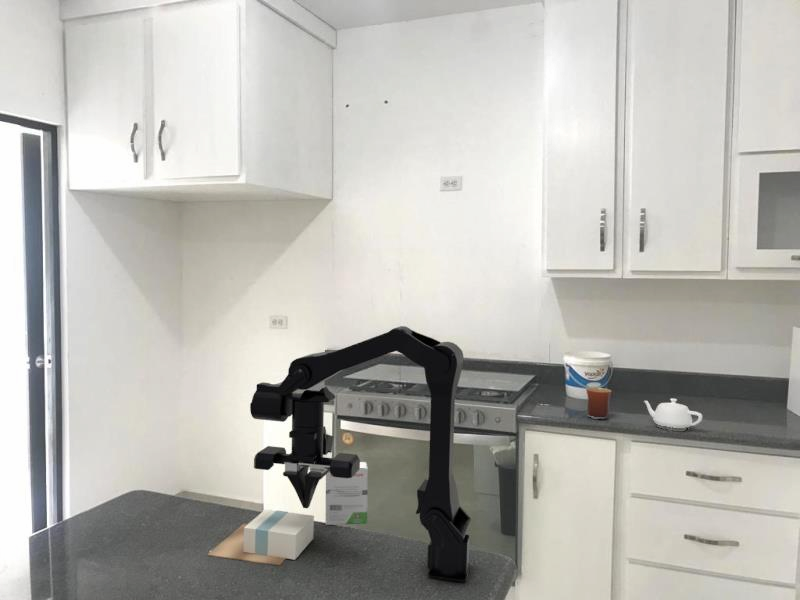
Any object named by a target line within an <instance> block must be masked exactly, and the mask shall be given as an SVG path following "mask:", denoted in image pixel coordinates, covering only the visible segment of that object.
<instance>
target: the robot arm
mask: <svg viewBox="0 0 800 600" xmlns="http://www.w3.org/2000/svg"><path fill="white" fill-rule="evenodd" d="M394 352H397V353H400V354H402V355H403V356H405V357H406V358H407V359H409V360H410V361H412V362H413V363H415V364H416V365H419V366H420V367H422V368H423V370H424V375H425V382H426V385H427V386H426V387H427V389H428V391H429V397H430V414H429V415H430V417H429V418H430V419H429V420H430V423H429V455H428V462H429V463H428V479H424V480H423V481H422V483H421V484H420V485H419V487H418V488H417V490H416V497H417V509H416V511H415V514H416V515H419V521H420V524H421V525H422V526H423V527H424V529H425V530H426V531H427V533H428V535H429V538H430V541H429V543H428V545H427V558H426V559H427V561H426V562H427V563H426V564H427V565H426V568H427V570H428V573H427V577H428V578H431V579H437V580H438V579H439V580H443V581H444V580H445V581H451V582H452V581H453V582H459V583H466V582H467V579H468V575H469V571H470V567H471V562H469V561H470V559H469V557H470V535H469V534H467V531H468V529H469V526H470V524H471V522H472V518H471V517H470V516H469V514H468V513H467V512H466V511H465V509H464V508H462V506H461V505H460V502H459V500H460V499H459V493H458V487H457V483H456V481H455V480H456V479H455V477H454V472H453V469H454V441H455V439H454V437H455V436H454V435H455V432H454V431H455V402H456V401H455V398H456V392H457V389H458V386H459V385H458V384H459V381H460V378H461V373H462V369H463V363H464V357H465V356H464V353H463V350H462V349H461V348H460V346H458V344H457V343H454V342H451V341H440V340H437V339H435V338H433V337H430V336H427V335H424V334H422V333H419V332H416V331H414V330H412V329H411V328H410V327H408V326H404V325H402V326H397V327H394V328H392V329H390V330H389V331H388V332H385V333H382V334H379V335H376V336H374V337H370V338H368V339H365V340H362V341H360V342H358V343H355V344H352V345H349V346H347V347H346V346H345V347H343V348H340V349H337V350H336V349H335V350H329V351H322V352H316V353H311V354H308V355H304V356H302V357H298V358H296V359H295V358H294V360H292V361H291V362H290V363H289V364H290V365H289V367H288V372H287V375H286V377H284V379H283V381H282V382H281V383H280V384H276V383H275V384H274V383H273V384H272V383H270V382H259V383H257V384H256V390H255V391H254V394H253V395H252V398H251V403H250V404H249V408H250V409H249V411H250V415H251V417H252V418H253V419H254V420H263V421H270V422H272V421H273V422H280V423H281V422H283V423H284V422H286V421H287V420H288V418H290V417H291V430H289V434H288V436H289V438H291V453H287V450H286V448H285V447H282V446H281V447H280V446H272V445H271V446H270V445H268V446H266V447H264V448H262V449H261V450H259V451H258V452H256V454H255V455H254V458H253V468H254V470H255V469H256V470H265V471H269V470H270V469H272V468H273V466H274V465H275V464H277V465H284V471H283V472H282V475H283V477H286V478H287V479H288V481H289V482H290V484H291V485H292V487H293V488H294V490H295V493H296V495H297V497H298V500H299V501H300V504H301V505H302V508H303V509H308V508H310V505H311V503H312V500H313V497H314V494H315V492H316V488H317V486H318V484H319V482H320V480H322V479H323V478H324V477H326V474H327V473H328V472H329V471H330V473H331V474H332V476H333V477H339V478H352V477H353V476H354V474H355V473H356V472H357V471H358V470H359V469H360V462H361V459H360V457H359V456H358V454H356V453H355V454H354V453H342V452H338V453H337V454H336V455H335V456H334V457H325V456H327V454H328V453H330V454H331V453H332V452H333V445H334V444H333V443H334V439H335V438H334V435H330V434H328V433H326V432H327V431H326V430H327V429H326V426H324V422H325V421H324V420H325V419H324V415H325V414H324V410H325V409H324V408H325V403H329V402H331V401H333V400H335V399H336V395H335V394H334V393H333V392H331V391H330V389H328V387H327V386H324V387H322V388H321V389H319V390H315V389H311V388H313V387H315V386H317V385H320V384H322V383H324V382H326V381H327V380H329V379H330V378H332V377H334V376H336V375H337V374H339V373H340V372H342V371H344V370H346V369H348V368H353V367H354V366H358V365H360V364H363V363H366V362H370V361H371V360H374V359H377V358H380V357H382V356H386V355H388V354H392V353H394ZM298 390H301V391H303V390H304V391H303V392H302V393H296V391H298Z"/></svg>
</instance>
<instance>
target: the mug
mask: <svg viewBox="0 0 800 600" xmlns="http://www.w3.org/2000/svg"><path fill="white" fill-rule="evenodd" d="M585 391H586V395H587V406H586V407H587V408H586V412H587V413H586V414H587V416H588V415H590V416H594V417H606V416H608V417H609V413H610V398H611V394H612V391H613V390H611V389H608V388H603V387H587V388H586V389H585Z"/></svg>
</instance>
